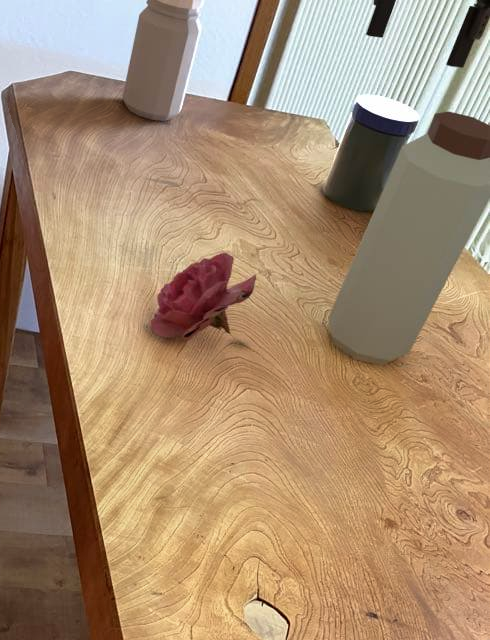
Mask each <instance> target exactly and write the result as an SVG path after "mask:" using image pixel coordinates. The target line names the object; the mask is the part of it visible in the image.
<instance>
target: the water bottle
mask: <svg viewBox="0 0 490 640" xmlns="http://www.w3.org/2000/svg"><path fill="white" fill-rule="evenodd" d="M489 200H490V124H488V123H486V122H484V121H481V120H480V119H478V118H476V117H474V116H469V115H466V114H461V113H457V112H453V111H444V112H443V111H442V112H437V113H434V115H433V118H432V120H431V123H430V125H429V127H428V131H427V133H425V134H423V135H421V136H420V137H418V138H415V139H413V140H412V141H409V142H408V144H406V145H404V146H402V148H401V150H400V152H399V155H398V157H397V159H396V162H395V164H394V166H393V169H392V171H391V173H390V176H389V178H388V180H387V183H386V185H385V187H384V190H383V192H382V194H381V197H380V199H379V201H378V203H377V206H376V208H375V210H374V211H373V213H372V215H371V218H370V220H369V222H368V225H367V226H366V229H365V232H364V234H363V236H362V237H361V241H360V243H359V245H358V248H357V250H356V252H355V255H354V257H353V259H352V261H351V264H350V266H349V269H348V271H347V274H346V276H345V278H344V280H343V282H342V285H341V287H340V289H339V291H338V293H337V296H336V299H335V301H334V303H333V305H332V308H331V311H330V312H329V315H328V317H327V320H328V324H329V325H328V326H329V331H330V334H331V335H330V336H331V339H332V344H333V346H335V347H336V348H338V349H339V350H340V351H342V352H343V353H345V354H346V355H347V356H349V357H350V358H352V359H353V360H355V361H360V362H364V363H367V364H368V363H369V364H374V365H378V366H384V365H387V364H390V363H391V362H394V361H396V360H398V359H400V358H402V357H404V356H406V355H407V354H409V353H410V352H411V351H412V349H413V346H414V345H415V342H416V341H417V339H418V337H419V335H420V333H421V331H422V330H423V327H424V325H425V324H426V322H427V320H428V318H429V316H430V315H431V312H432V310H433V308H434V307H435V304H436V302H437V300H438V298H439V297H440V294H441V293H442V291H443V290H444V287H445V285H446V283H447V280H449V277H450V275H451V274H452V271H453V270H454V268H455V266H456V265H457V262H458V260H459V258H460V256H461V254H462V252H463V250H464V249H465V247H466V244H467V243H468V241H469V239H470V237H471V235H472V233H473V231H474V229H475V228H476V225H477V224H478V222H479V220H480V219H481V216H482V214H483V212H484V211H485V208H486V206H487V204H488V202H489Z"/></svg>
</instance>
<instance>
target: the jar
mask: <svg viewBox="0 0 490 640" xmlns="http://www.w3.org/2000/svg"><path fill="white" fill-rule="evenodd" d="M204 2H205V0H146V5H147V6H146V7H144V9H143V10H142V11H141V12H140V13H139V15H138V19H137V23H136V24H137V25H136V28H135V34H134V39H133V44H132V47H131V48H132V49H131V54H130V58H129V64H128V68H127V73H126V74H127V75H126V77H125V82H124V88H123V93H122V100H123V102H124V104H125V106H126V108H127V109H128V111H129V112H131V113H133V114H135V115H136V116H138V117H141V118H145V119H149V120H151V121H161V122H165V121H170V120H173V119H175V118H176V117H177V116H178V115H179V114H180V113H181V110H182V108H183V104H184V100H185V96H186V92H187V89H188V85H189V81H190V76H191V72H192V69H193V65H194V62H195V61H194V60H195V57H196V52H197V48H198V44H199V41H200V36H201V33H202V29H203V28H202V24H201V21H200V17H201V15H202V11H200V9H201V8H203V6H204Z"/></svg>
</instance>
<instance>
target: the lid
mask: <svg viewBox="0 0 490 640" xmlns="http://www.w3.org/2000/svg"><path fill="white" fill-rule="evenodd" d="M350 113H352V116H353V117H354V118H355V119H356V120H357V121H359V122H360V123H362V124H364V125H365V126H367V127H370V128H372V129H375V130H378V131H381V132H384V133H388V134H393V135H410V134H412V135H413V133H415V131H416V129H417V126H418V123H419V121H420V115H419V114H418V112H417V111H416V110H414V109H413V108H411V107H410V106H408V105H406V104H404V103H402V102H400V101H397V100H395V99H393V98H389V97H384V96H381V95H376V94H375V95H374V94H361V95H358V96H357V97H356V99H355V101H354V102H353V105H352V108H351V110H350Z"/></svg>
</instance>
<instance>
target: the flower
mask: <svg viewBox="0 0 490 640" xmlns="http://www.w3.org/2000/svg"><path fill="white" fill-rule="evenodd" d="M234 260H235V257H234V256H233V255H232V254H229V253H228V252H221V253H218V254H216V255H214V256H212V257H211V258H205V257H203V258H202V259H200V261H196V262H194V263H191V264H190V265H188V266H187V268H185V269H182V271H181V272H180V271H179V272H178V273H176V274H175V275H174V277H173V278H172V281H170V282H169V283H165V284H164V285H163V287H162V288H160V291H159V293H157V296H156V299H157V305H158V309H157V312H154V314H153V315H154V316H153V318H151V320H150V328H151V331H152V333H153V334H155V335H156V336H158V337H161V338H165V339H171V340H172V339H176V338H178V337H180V336H181V339H180V341H181V342H183V343H186V342H189V341H190V340H191V339H192V338H194V337H195V336H197V335H198V334H199V333H201V332H202V331H203V330H205V329H206V328H208V327H212V328H215V329H217V330H219V331H221V330H222V329H223V330H224V332H225V333H227V334H229V335H230V336H231V337H232V338H233V339H234V340H235V341H237V343H238V344H240V345H241V346H242V345H243V343H242V342H241V341H240V340H238V339H237V338H236V337H234V336H233V335H232V333H231V331H230V326H229V323H228V316H227V312H226V310H228V308H229V306H233V305H236V304H241V303H242V302H245V301H247V300H248V299H250V297H251V296H252V294H253V292H254V290H255V284H256V281H257V274H253V275H252V276H251V277H249V278H248V279H245V280H244V281H241V282H239V283H236V284H233V285H231V286H229V287H228V284H229V282H230V279H231V277H232V272H233V265H234Z"/></svg>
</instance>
